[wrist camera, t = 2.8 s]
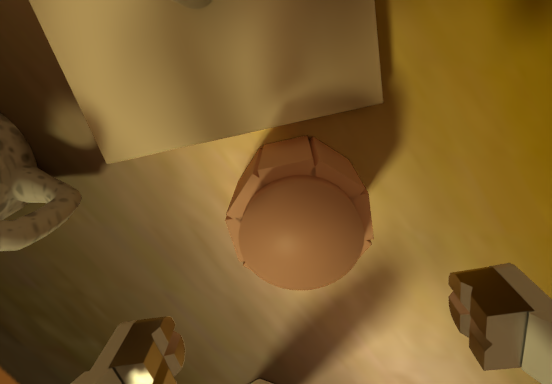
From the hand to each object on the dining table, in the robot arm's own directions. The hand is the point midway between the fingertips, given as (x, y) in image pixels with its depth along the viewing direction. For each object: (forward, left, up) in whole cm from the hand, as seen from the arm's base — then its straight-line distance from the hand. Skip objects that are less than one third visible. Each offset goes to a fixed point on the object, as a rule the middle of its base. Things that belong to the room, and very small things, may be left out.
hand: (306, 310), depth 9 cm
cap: (0, 0, -8) cm, 8 cm away
